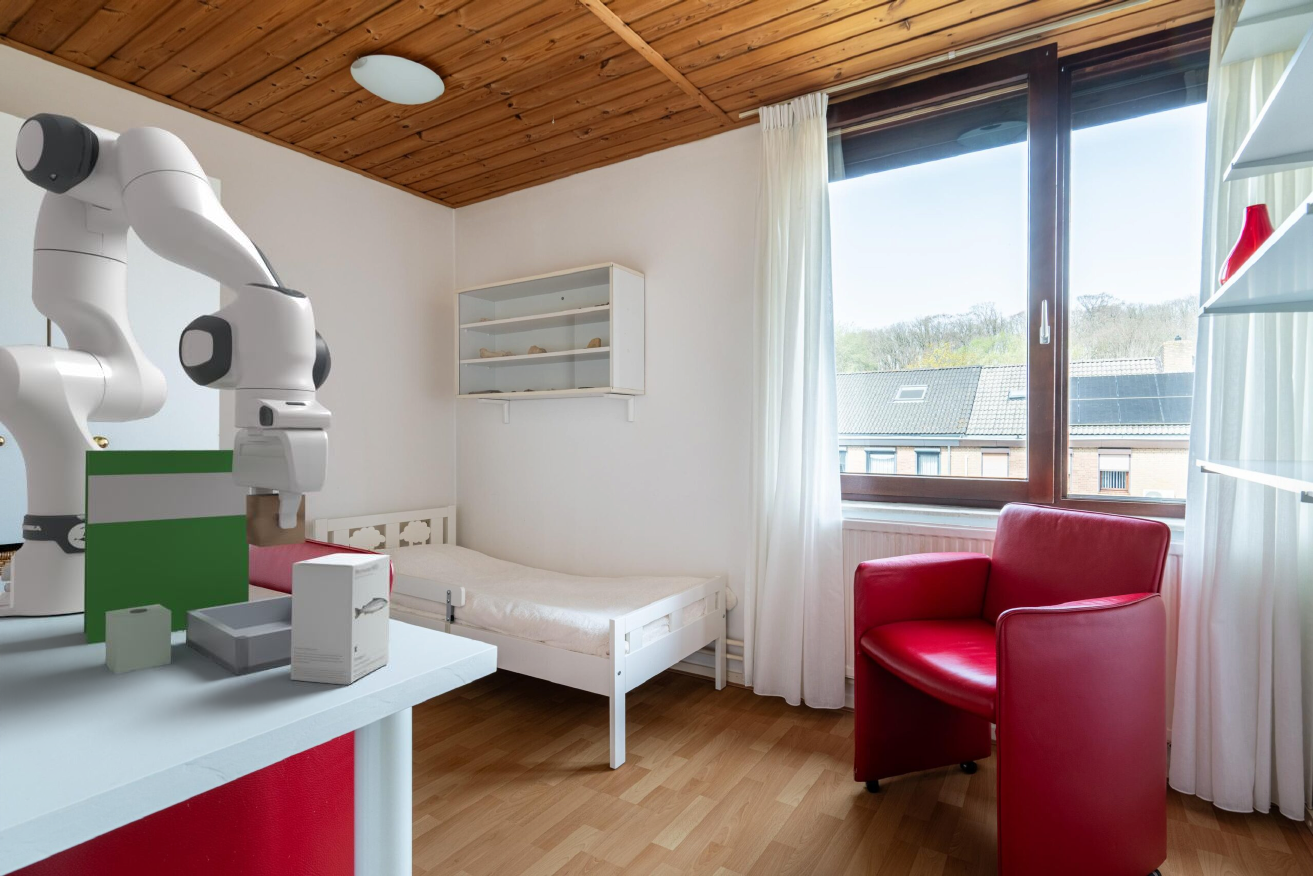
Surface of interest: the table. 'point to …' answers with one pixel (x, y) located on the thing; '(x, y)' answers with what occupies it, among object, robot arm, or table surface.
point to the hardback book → (162, 534)
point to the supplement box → (339, 617)
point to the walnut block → (271, 522)
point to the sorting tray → (243, 634)
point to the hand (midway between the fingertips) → (275, 525)
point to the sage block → (138, 638)
